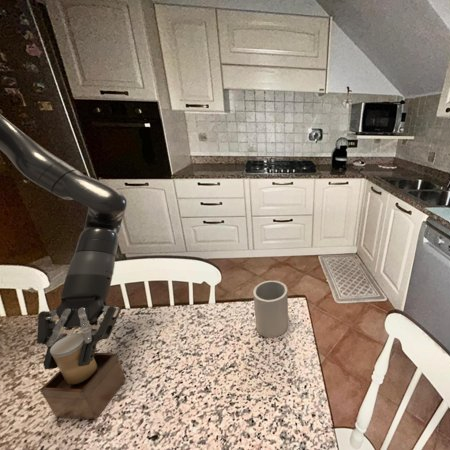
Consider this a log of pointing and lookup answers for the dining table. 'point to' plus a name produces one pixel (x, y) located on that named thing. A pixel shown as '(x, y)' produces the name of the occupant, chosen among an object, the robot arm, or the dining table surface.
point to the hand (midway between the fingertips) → (67, 366)
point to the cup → (271, 308)
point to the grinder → (72, 359)
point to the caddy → (85, 390)
